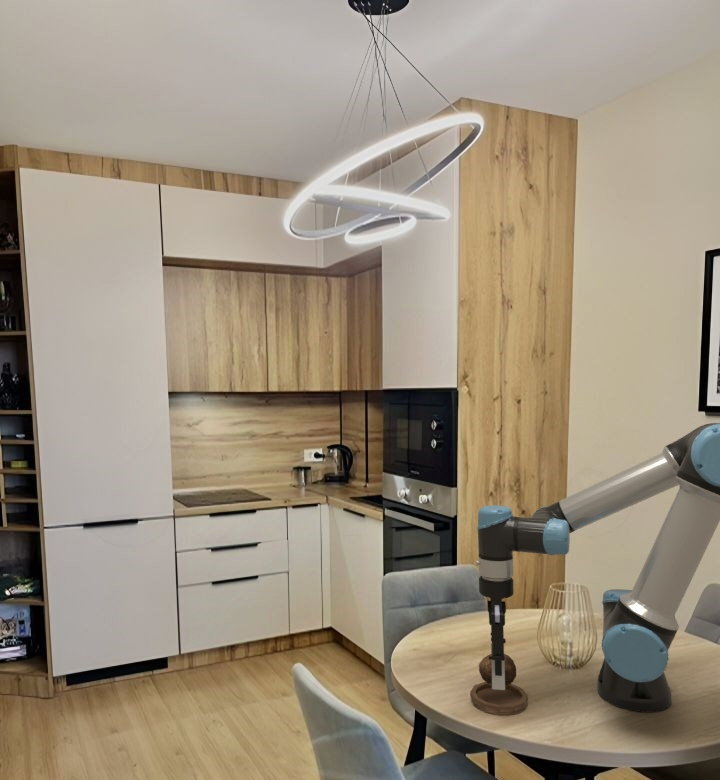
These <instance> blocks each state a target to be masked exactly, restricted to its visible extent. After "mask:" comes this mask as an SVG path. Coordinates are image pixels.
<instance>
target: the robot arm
mask: <svg viewBox="0 0 720 780" xmlns="http://www.w3.org/2000/svg"><path fill="white" fill-rule="evenodd" d="M677 486H679V488H678V491H677V493H676V494H675V497H674V500H673V501H672V504H671V505H670V508H669V510H668V512H667V514H666V517H665V519H664V521H663V523H662V525H661V527H660V529H659V531H658V534H657V535H656V537H655V540H654V543H652V544H653V545H652V546H651V549H650V552H649V554H648V555H647V557H646V559H645V562H644V563H643V567H642V568H641V571H640V573H639V575H638V577H637V579H636V581H635V583H634V586H633V588H632V589H624V588H623V589H608V590H605V591H604V592H603V595H602V602H601V604H602V606H603V607H602V609H603V611H602V612H603V628H602V639H601V651H602V653H603V656H604V658H603V661H602V665H601V667H600V670H599V673H598V677H597V684H596V685H597V687H596V688H597V692H598V696H600V697H601V698H602V699H603V700H605V701H606V702H607V703H609V704H612V705H613V706H616V707H619V708H622V709H625V710H629V711H635V712H643V713H645V712H646V713H647V712H649V713H653V712H660V711H664V710H666V709H668V708H669V707H670V706H672V691H671V687H670V686H669V685H670V684H669V683H668V680H667V679H668V678H667V676H666V674H665V670H666V668H667V666H668V661H669V649H670V648H671V645H672V643H673V641H674V639H675V637H676V634H677V632H678V631H679V628H680V625H679V623H678V621H677V619H676V613H677V611H678V609H679V607H680V605H681V604H682V601H683V599H684V597H685V594H686V593H687V590H688V588H689V587H690V584H691V583H692V579H693V578H694V576H695V573H696V572H697V570H698V567H699V565H700V564H701V561H702V559H703V557H704V555H705V552H706V551H707V549H708V546H709V545H710V543H711V540H712V538H713V535H714V534H715V532H716V529H717V528H718V526H719V523H720V422H719V423H718V422H713V423H711V422H710V423H707V424H703V425H701V426H698V427H696V428H695V429H693V430H692V431H689V432H688V433H687V434H686V435H683V436H682V437H680V438H678V439H676V440H675V441H672V442H671V443H669V444H667V445H664V446H663V450H662V452H661V453H659V454H656V455H655V456H653V457H651V458H648V459H646V460H644V461H641V462H639V463H638V464H635V465H634V466H631V467H630V468H627V469H625V470H622V471H621V472H618V473H616V474H614V475H612V476H610V477H607V478H606V479H603V480H601V481H599V482H596V483H595V484H593V485H591V486H589V487H587V488H584V489H582V490H580V491H578V492H576V493H574V494H571V495H569V496H567V497H565V498H563V499H561V500H559V501H557V502H555V503H552V504H550V505H548V506H542V507H540V508H537V510H535V512H534V513H533V514H532V516H531V517H520V516H515V515H514V514H513V512H512V508H510V507H508V506H505V505H504V506H503V505H485V506H482V507H481V508H480V509H478V515H477V516H478V517H477V528H476V529H477V545H478V549H477V550H478V560H476V561H475V565H476V566H478V574H479V577H478V591H479V594H480V595H481V596H483V597H485V598H489V599H490V600H487V603H486V604H487V612H488V624H489V625H490V630H491V631H490V636H491V638H490V641H491V643H490V654H492V656H489V659H491V660H492V689H496V690H505V664H504V659H505V656H504V654H505V645H504V644H506V642H507V640H506V638H504V635H505V634H504V626H505V625H506V612H507V607H506V606H507V605H506V601H505V600H504V601H503V599H508V598H510V597H512V596H514V578H513V576H514V556H513V552H516V553H517V552H518V553H531V554H540V555H541V554H542V555H549V556H557V555H558V556H560V555H561V556H564V555H567V554H568V553H569V551H570V540H571V539H570V536H571V535H570V534H572V533H573V532H575V531H577V530H579V529H582V528H584V527H587V526H589V525H591V524H594V523H595V522H598V521H600V520H603V519H605V518H607V517H609V516H611V515H613V514H615V513H619V512H620V511H623V510H625V509H627V508H629V507H632V506H634V505H637V504H638V503H641V502H643V501H645V500H648V499H650V498H653V497H654V496H657V495H659V494H661V493H664V492H666V491H668V490H670V489H672V488H675V487H677Z"/></svg>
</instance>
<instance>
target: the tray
mask: <svg viewBox="0 0 720 780" xmlns="http://www.w3.org/2000/svg"><path fill="white" fill-rule="evenodd" d="M469 694H470V698H471V699H470V700H471V704H472V705H473V706H474V707H475V708H476V709H478V710H479V711H481V712H483V713H485V714H486V713H487V714H490V715H492V716H493V715H494V716H501V717H502V716H504V717H505V716H507V717H508V716H515V715H518V714H521V713H522V712H523V713H524V711H526V709H527V707H528V701H529V697H528V694H527V693H526V691H525V690H524V688H522V687H520V686H517V685H516V684H513V683H511V684H509V685H508V686H505V690H496V689H492V685H490V684H487V683H486V682H485V681H483V682H480V683H477V684H475V685H473V687H472V688H471V690H470V693H469Z"/></svg>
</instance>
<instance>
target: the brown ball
mask: <svg viewBox="0 0 720 780" xmlns="http://www.w3.org/2000/svg"><path fill="white" fill-rule="evenodd" d="M489 656H492V654H491V653H490V654H488V655H486V656H485V657H483V658H482V660H480V662H479V664H478V671H479V674H480V676H481V679H482V680H483V682H486V683H487V684H490V685H492V660H491V659H489ZM504 656H505V659H504V664H505V686H508V685H509V684H513V682H514V681H515V679H516V678H517V667H516V664H515V661H514V660H513V659H512V657H511V656H509V655H508V654H506V653H504Z"/></svg>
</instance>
